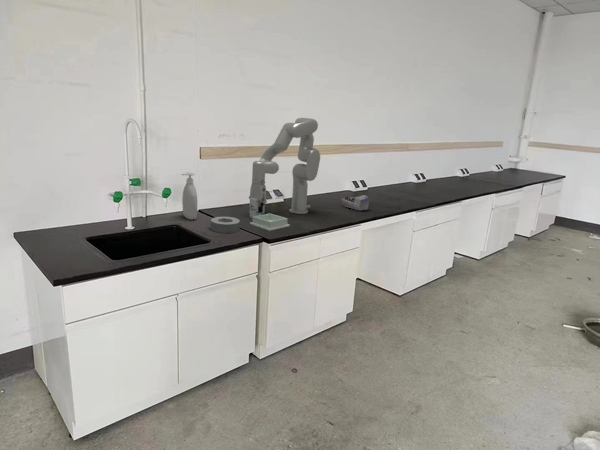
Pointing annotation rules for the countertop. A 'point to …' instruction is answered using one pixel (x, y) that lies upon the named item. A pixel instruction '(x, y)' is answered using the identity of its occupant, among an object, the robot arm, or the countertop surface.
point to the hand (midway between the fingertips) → (257, 211)
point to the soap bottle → (189, 198)
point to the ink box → (255, 208)
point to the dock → (269, 222)
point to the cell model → (356, 202)
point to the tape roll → (225, 224)
